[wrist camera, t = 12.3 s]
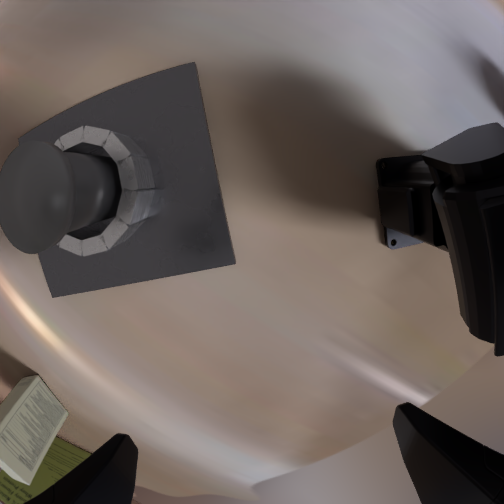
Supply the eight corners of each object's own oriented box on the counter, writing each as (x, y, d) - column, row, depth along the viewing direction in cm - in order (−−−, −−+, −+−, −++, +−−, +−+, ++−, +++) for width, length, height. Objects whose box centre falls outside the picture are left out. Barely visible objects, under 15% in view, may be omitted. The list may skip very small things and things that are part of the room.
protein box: (31, 421, 25) (-14, 489, 10) (125, 466, 26) (96, 555, 11) (46, 455, 27) (14, 515, 12) (128, 492, 28) (108, 564, 13)
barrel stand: (196, 65, 16) (185, 42, 12) (235, 261, 19) (233, 279, 16) (22, 139, 16) (-5, 136, 13) (56, 295, 20) (32, 312, 16)
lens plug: (128, 140, 16) (58, 122, 9) (142, 215, 18) (78, 240, 10) (68, 164, 17) (-9, 164, 9) (82, 232, 18) (9, 262, 10)
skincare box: (22, 376, 22) (-30, 436, 11) (39, 373, 22) (-18, 441, 10) (52, 416, 24) (12, 480, 12) (71, 415, 24) (29, 487, 12)
